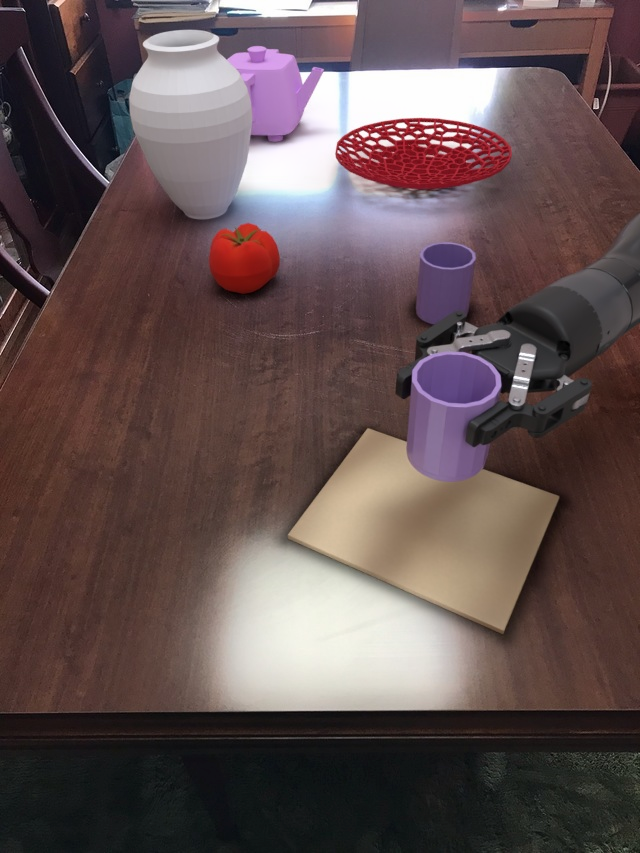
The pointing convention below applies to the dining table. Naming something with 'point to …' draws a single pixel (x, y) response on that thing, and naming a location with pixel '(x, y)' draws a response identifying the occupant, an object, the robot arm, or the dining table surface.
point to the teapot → (274, 90)
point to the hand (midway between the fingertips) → (433, 411)
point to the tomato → (243, 258)
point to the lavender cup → (449, 414)
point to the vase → (192, 120)
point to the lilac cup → (444, 280)
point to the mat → (429, 529)
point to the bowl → (423, 154)
